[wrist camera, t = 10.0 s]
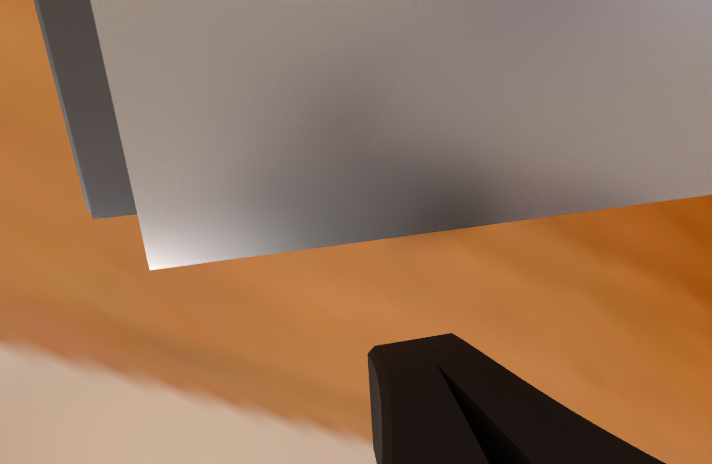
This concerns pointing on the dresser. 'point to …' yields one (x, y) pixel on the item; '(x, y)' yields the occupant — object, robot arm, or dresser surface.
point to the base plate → (87, 105)
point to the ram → (399, 115)
